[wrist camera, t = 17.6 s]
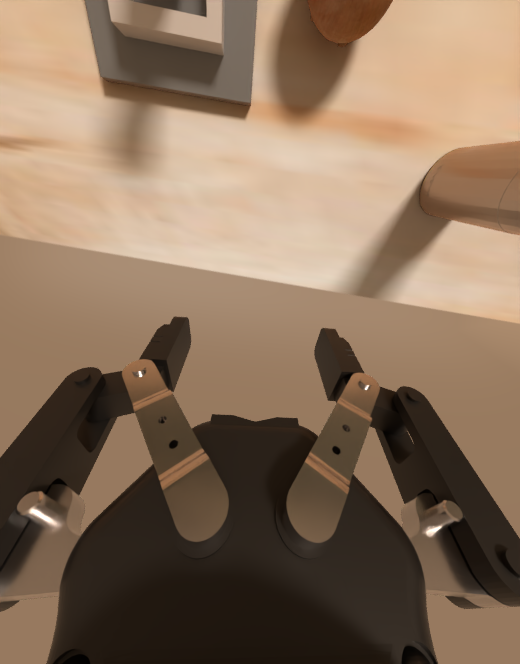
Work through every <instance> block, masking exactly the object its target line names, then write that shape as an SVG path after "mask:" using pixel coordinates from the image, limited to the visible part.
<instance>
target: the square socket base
mask: <svg viewBox="0 0 520 664" xmlns="http://www.w3.org/2000/svg"><path fill="white" fill-rule="evenodd" d="M85 3H86V8H87V13H88V18H89V23H90V27H91V32H92V37H93V42H94V47H95V51H96V56H97V61H98V66H99V71H100V75H101V77H102V78H104V79H105V80H107V81H110V82H116V83H122V84H128V85H133V86H139V87H145V88H150V89H156V90H162V91H167V92H173V93H179V94H185V95H190V96H196V97H202V98H207V99H213V100H219V101H225V102H230V103H236V104H242V105H247V106H251V92H252V77H253V61H254V45H255V29H256V13H257V0H85Z"/></svg>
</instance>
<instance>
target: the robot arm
mask: <svg viewBox="0 0 520 664" xmlns="http://www.w3.org/2000/svg"><path fill="white" fill-rule="evenodd" d="M420 204H421V207H422V209H423V210H424V211H425V212H426V213H427V214H429V215H432V216H437V217H441V218H445V219H449V220H454V221H458V222H462V223H467V224H471V225H476V226H480V227H484V228H489V229H493V230H498V231H502V232H506V233H511V234H516V235H520V141H515V142H506V143H498V144H489V145H480V146H472V147H464V148H458V149H455V150H452V151H451V152H449V153H447V154H445V155H444V156H443V157H442V158H440V159H439V160H438V161H437V162H436V163H435V164H434V165H433V167H432V168H431V169H430V171H429V172H428V174H427V175H426V177H425V179H424V181H423V184H422V187H421V191H420ZM190 345H191V334H190V327H189V319H188V318H187V317H174V318H173V319H172V321H171V323H170V325H167V324H166V325H165V324H164V325H163V326H161V327H160V328H159V329H157V331H156V333H155V334H154V337H153V338H152V339H151V342H149V344H148V346H147V347H146V349H145V351H144V352H143V354H142V355H141V357H140V359H139V360H136V361H133V362H131V363H129V364H128V365H127V366H126V367H125V368H124V369H123V371H120V372H114V373H108V374H102V373H101V371H100V370H99V369H97V368H93V367H90V368H89V367H88V368H83V369H80V370H77V371H75V372H73V373H71V374H70V375H69V376H67V377H66V378H65V380H64V381H63V382H62V383H61V384H60V386H59V387H58V388H57V389H56V390H55V392H54V393H53V394H52V395H51V397H50V398H49V399H48V400H47V401H46V403H45V404H44V405H43V406H42V408H41V409H40V410H39V411H38V412H37V414H36V415H35V416H34V417H33V418H32V420H31V421H30V422H29V423H28V425H27V426H26V427H25V428H24V429H23V431H22V432H21V433H20V435H19V436H18V437H17V438H16V439H15V440H14V442H13V443H12V444H11V445H10V447H9V448H8V449H7V450H6V451H5V453H4V454H3V455H2V456H1V458H0V612H1V611H4V610H6V609H8V608H10V607H12V606H13V605H15V604H16V603H17V602H19V601H20V600H26V599H37V598H47V597H58V596H59V604H58V615H57V622H56V628H55V632H54V637H53V642H52V646H51V649H50V653H49V657H48V661H47V663H46V664H438V662H437V659H436V655H435V652H434V648H433V643H432V639H431V634H430V629H429V623H428V616H427V607H426V594H432V595H442V596H446V597H447V598H448V599H449V600H450V601H451V602H452V603H454V604H455V605H457V606H458V607H461V608H464V609H473V608H494V607H513V606H514V607H517V606H520V539H519V537H518V536H517V534H516V533H515V531H514V529H513V528H512V526H511V525H510V523H509V522H508V520H507V519H506V518H505V516H504V514H503V513H502V511H501V510H500V508H499V507H498V505H497V504H496V502H495V501H494V499H493V498H492V496H491V495H490V493H489V492H488V490H487V489H486V487H485V486H484V484H483V483H482V481H481V480H480V478H479V477H478V475H477V474H476V472H475V471H474V469H473V468H472V466H471V465H470V463H469V462H468V460H467V459H466V457H465V456H464V454H463V453H462V451H461V450H460V448H459V447H458V445H457V444H456V442H455V441H454V439H453V438H452V436H451V435H450V433H449V432H448V430H447V429H446V427H445V426H444V424H443V423H442V421H441V420H440V418H439V416H438V415H437V413H436V412H435V410H434V409H433V407H432V406H431V404H430V403H429V401H428V400H427V399H426V398H425V396H424V395H423V394H421V393H420V392H419V391H417V390H415V389H413V388H411V387H405V386H403V387H400V388H399V389H398V390H397V392H394V391H392V390H388V389H385V388H382V387H380V386H379V384H378V383H377V381H376V380H375V379H374V378H372V377H371V376H369V375H367V374H365V373H364V371H363V370H362V368H361V366H360V364H359V362H358V360H357V358H356V356H355V354H354V352H353V351H352V348H351V346H350V345H349V343H348V342H347V341H346V340H345V339H344V338H339V335H338V333H337V332H336V330H335V329H328V328H323V329H321V331H320V334H319V337H318V340H317V343H316V346H315V359H316V362H317V365H318V368H319V372H320V375H321V379H322V382H323V385H324V388H325V392H326V395H327V398H328V400H329V401H336V405H335V407H334V409H333V411H332V413H331V415H330V417H329V418H328V420H327V422H326V424H325V426H324V428H323V430H322V431H321V433H320V435H319V437H318V436H317V435H316V434H315V433H313V432H312V431H310V430H309V429H307V428H304V427H302V426H299V424H298V419H297V418H279V417H277V418H272V419H267V420H262V421H257V422H254V421H251V420H247V419H244V418H241V417H237V416H234V415H215V414H212V417H211V421H209V422H205V423H202V424H200V425H198V426H196V427H194V428H191V427H190V425H189V423H188V421H187V419H186V417H185V415H184V414H183V412H182V410H181V408H180V406H179V404H178V403H177V400H176V399H175V397H174V395H173V393H172V392H174V389H175V387H176V384H177V381H178V379H179V376H180V373H181V370H182V368H183V365H184V362H185V360H186V357H187V354H188V352H189V349H190ZM131 413H135V414H136V417H137V419H138V422H139V425H140V428H141V431H142V433H143V436H144V439H145V442H146V444H147V447H148V450H149V453H150V455H151V458H152V461H153V465H152V466H151V467H149V468H148V469H147V470H146V471H145V472H144V473H143V474H142V475H141V476H140V477H139V478H138V479H137V480H136V481H135V482H134V483H132V484H131V485H130V486H129V487H128V488H127V489H126V490H125V491H124V492H123V493H122V494H121V495H120V496H119V497H118V498H117V499H116V500H115V501H113V502H112V503H111V504H110V505H109V506H108V507H107V508H106V509H105V510H104V511H103V512H102V513H101V514H100V515H99V516H98V517H97V518H96V519H95V520H93V522H92V523H91V524H90V525H89V526H88V527H87V528H86V530H85V531H84V532H83V534H81V522H82V519H83V515H84V512H85V503H84V501H83V499H82V498H81V497H80V496H79V494H80V492H81V491H82V488H83V486H84V484H85V482H86V480H87V478H88V476H89V474H90V472H91V470H92V468H93V466H94V464H95V462H96V460H97V458H98V456H99V453H100V451H101V450H102V447H103V445H104V443H105V441H106V439H107V437H108V435H109V433H110V431H111V429H112V427H113V425H114V423H115V421H116V419H117V417H118V416H122V415H127V414H131ZM369 426H370V427H373V428H375V429H376V432H377V435H378V437H379V440H380V442H381V445H382V447H383V450H384V453H385V455H386V458H387V460H388V463H389V465H390V468H391V470H392V473H393V476H394V478H395V480H396V483H397V485H398V488H399V491H400V494H401V496H402V499H403V501H404V504H405V505H404V506H403V507H402V510H401V517H402V522H403V524H402V527H401V526H400V525H399V524H398V523H397V521H396V520H395V519H394V518H393V517H392V516H391V515H390V514H389V513H388V511H387V510H386V509H385V508H384V507H383V506H382V505H381V504H380V503H379V502H378V501H377V499H376V498H375V497H374V496H373V495H372V494H371V493H370V492H369V491H368V490H367V489H366V488H365V486H364V485H363V484H362V483H361V482H360V481H359V480H358V479H357V478H356V477H355V476H354V474H353V472H354V469H355V466H356V464H357V461H358V458H359V455H360V452H361V449H362V446H363V444H364V441H365V438H366V435H367V432H368V429H369ZM407 431H408V432H409V434H410V436H411V437H412V440H413V442H414V444H413V442H412V440H411V438H410V436H409V434H408V432H407Z"/></svg>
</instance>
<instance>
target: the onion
mask: <svg viewBox="0 0 520 664" xmlns="http://www.w3.org/2000/svg"><path fill="white" fill-rule="evenodd" d="M392 1H393V0H308V4H309V8H310V12H311V20H310V21H312V22H313V21H314V23H315V25H316V27H317V28H318V30H319V31H320V32H321V33H322V35H323V36H324V37H325V38H326V39H327V40H329V41H333V42H336V43H338V46H340V47H343V46H346V45H347V43H348V42H352V41H354V40H356V39H359V38H361V37H362V36H364V35H365V34H367V33H368V32H369V31H370V30H371V29H373V27H374V26H375V25H376V24H377V23H378V22H379V21H380V19H381V18H382V17H383V15H384V14H385V12H386V11H387V9H388V8H389V6H390V4H391V3H392ZM338 46H337V47H338Z"/></svg>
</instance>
